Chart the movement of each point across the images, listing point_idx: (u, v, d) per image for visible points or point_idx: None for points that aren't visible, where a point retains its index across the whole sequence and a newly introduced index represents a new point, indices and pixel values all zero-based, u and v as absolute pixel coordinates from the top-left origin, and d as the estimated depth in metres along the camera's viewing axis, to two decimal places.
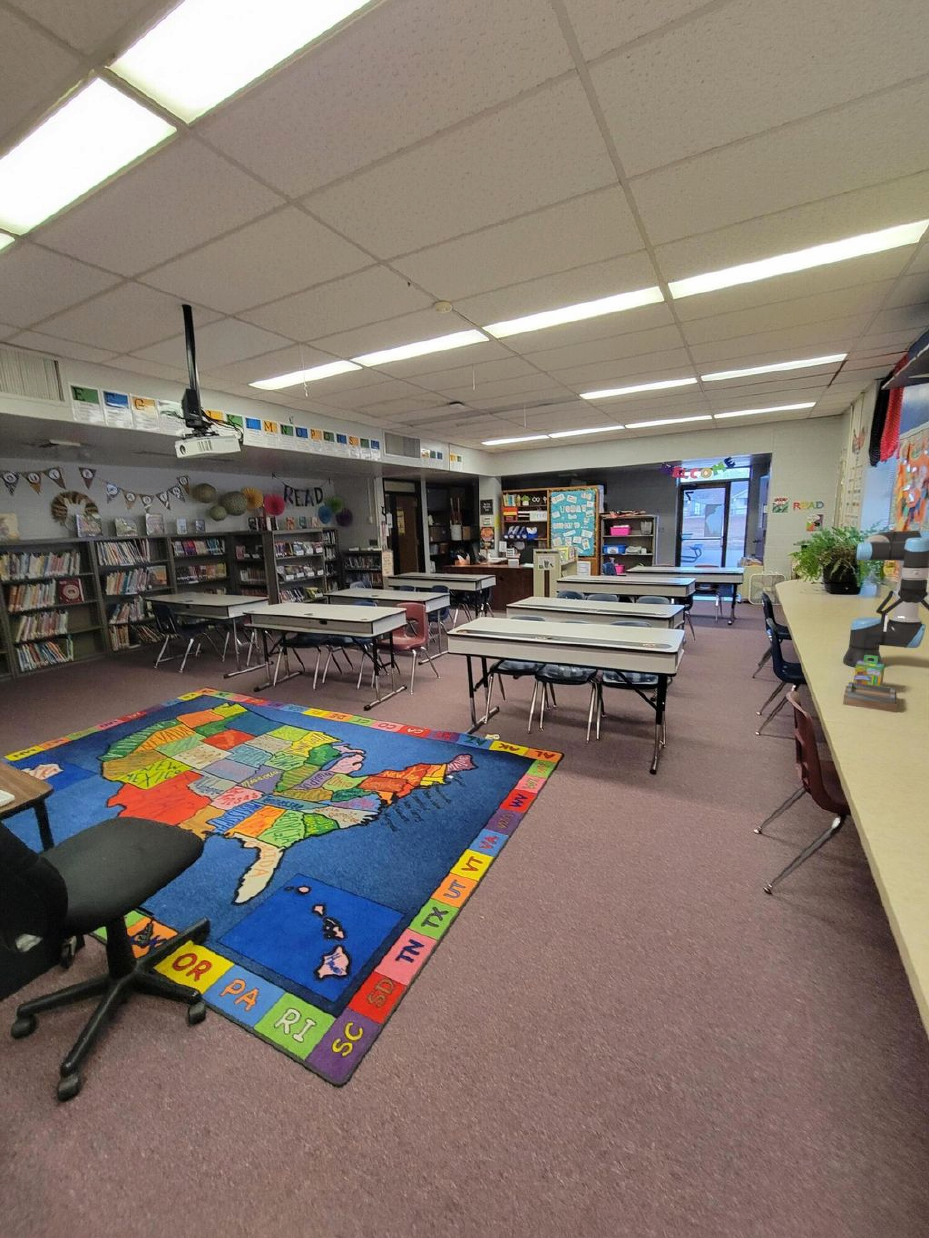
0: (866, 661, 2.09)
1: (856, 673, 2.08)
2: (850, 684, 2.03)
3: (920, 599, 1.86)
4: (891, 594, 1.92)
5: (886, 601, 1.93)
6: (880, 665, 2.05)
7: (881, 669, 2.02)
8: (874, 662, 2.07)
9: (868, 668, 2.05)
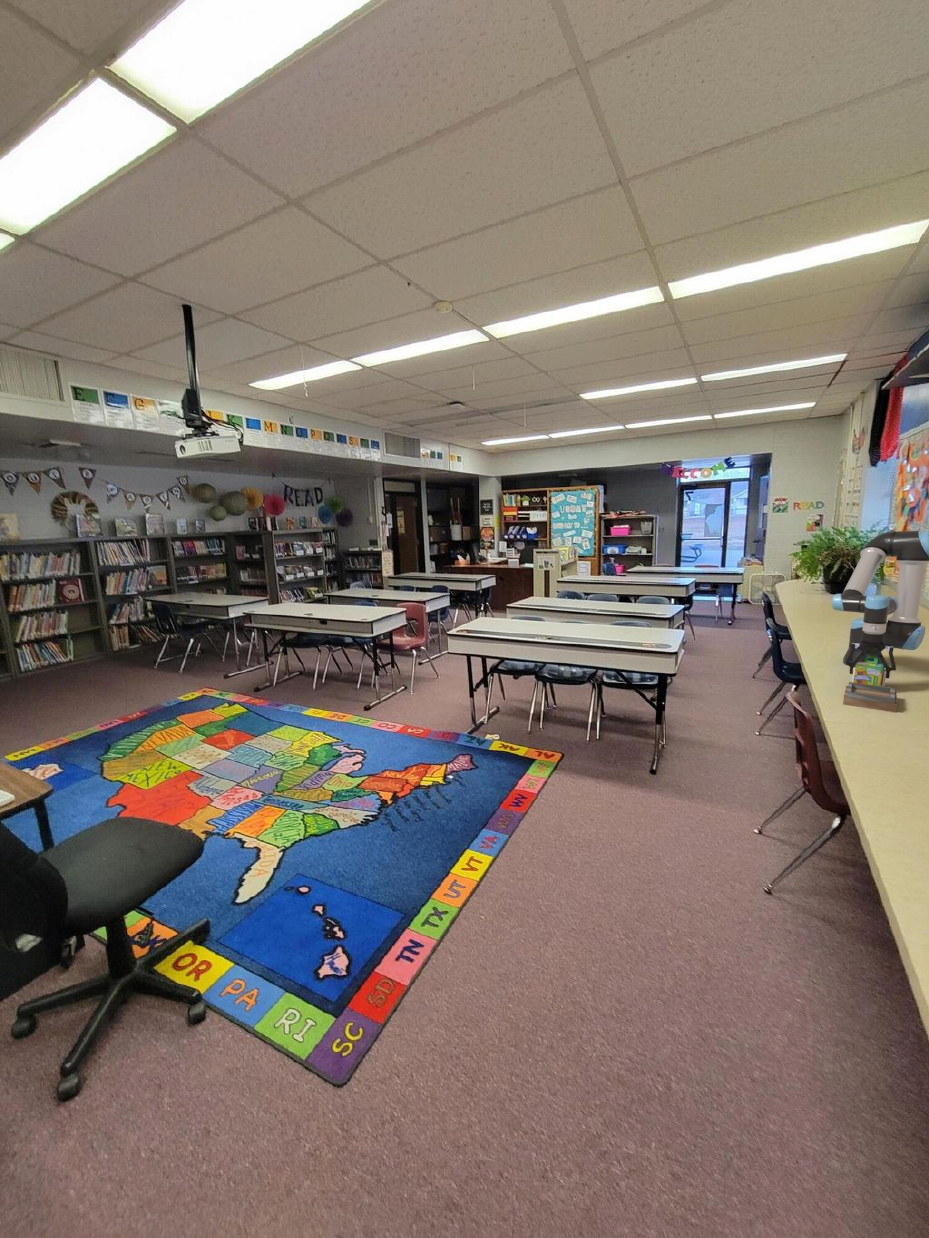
0: (866, 661, 2.09)
1: (856, 673, 2.08)
2: (850, 684, 2.03)
3: (878, 652, 2.04)
4: (853, 647, 2.10)
5: (851, 653, 2.10)
6: (880, 665, 2.05)
7: (881, 669, 2.02)
8: (874, 662, 2.07)
9: (868, 668, 2.05)
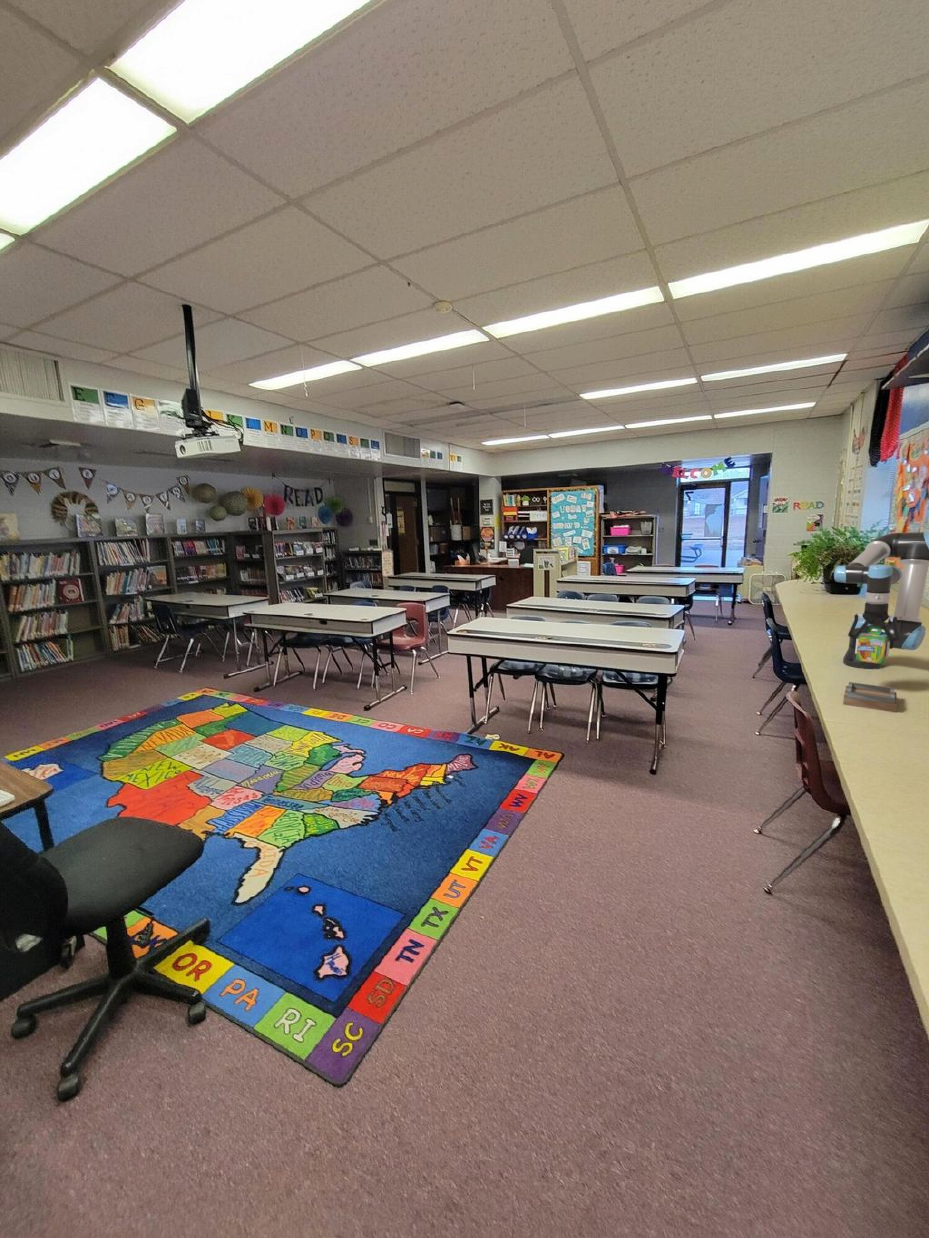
0: (869, 632, 2.06)
1: (859, 644, 2.06)
2: (850, 684, 2.03)
3: (881, 622, 2.02)
4: (856, 618, 2.07)
5: (854, 625, 2.08)
6: (884, 635, 2.02)
7: (885, 639, 2.00)
8: (877, 633, 2.05)
9: (871, 638, 2.03)
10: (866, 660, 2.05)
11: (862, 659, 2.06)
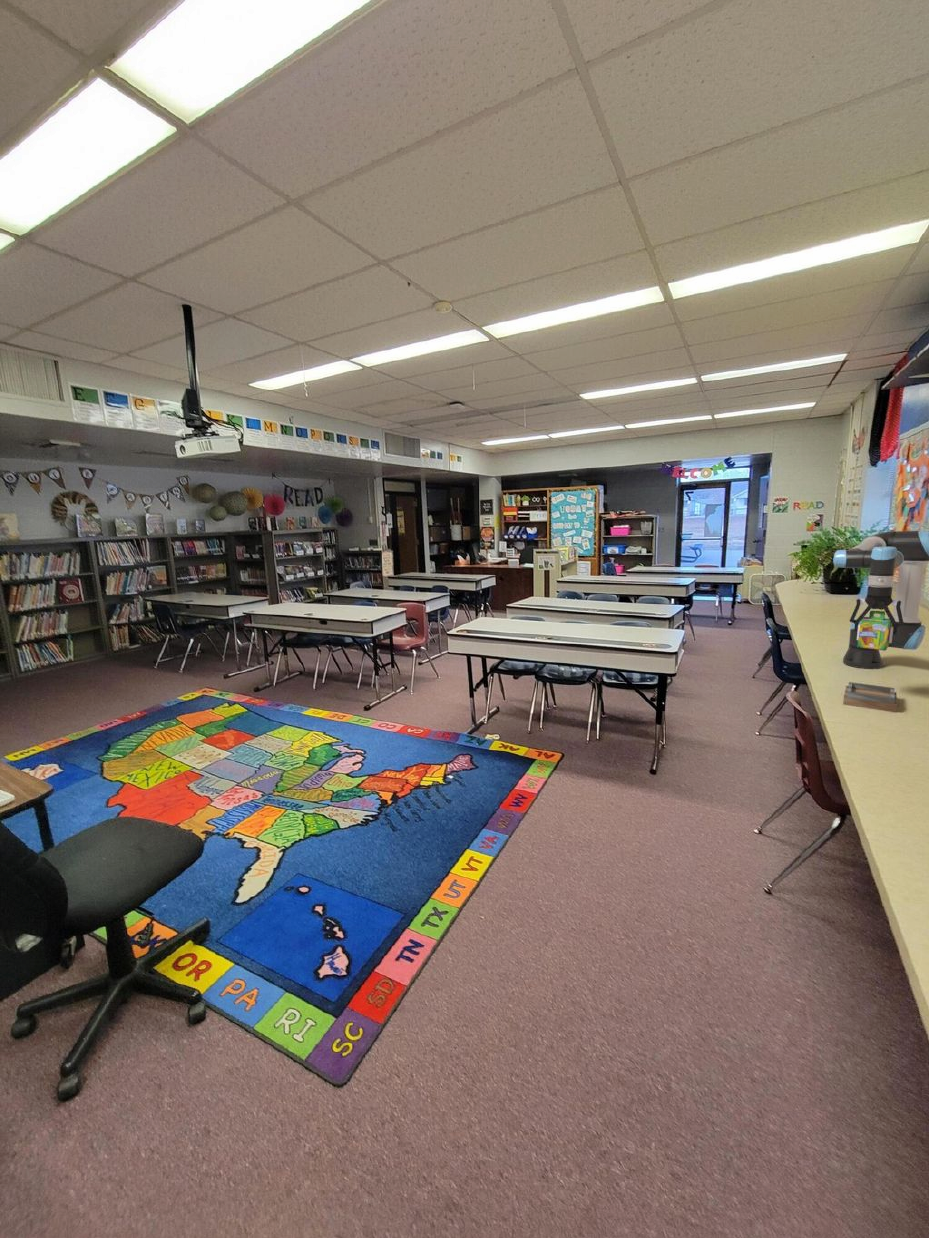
0: (872, 617, 1.98)
1: (861, 629, 1.97)
2: (850, 684, 2.03)
3: (884, 606, 1.93)
4: (859, 602, 1.98)
5: (856, 609, 1.99)
6: (887, 620, 1.94)
7: (888, 624, 1.91)
8: (880, 618, 1.96)
9: (874, 623, 1.94)
10: (868, 646, 1.96)
11: (864, 645, 1.97)
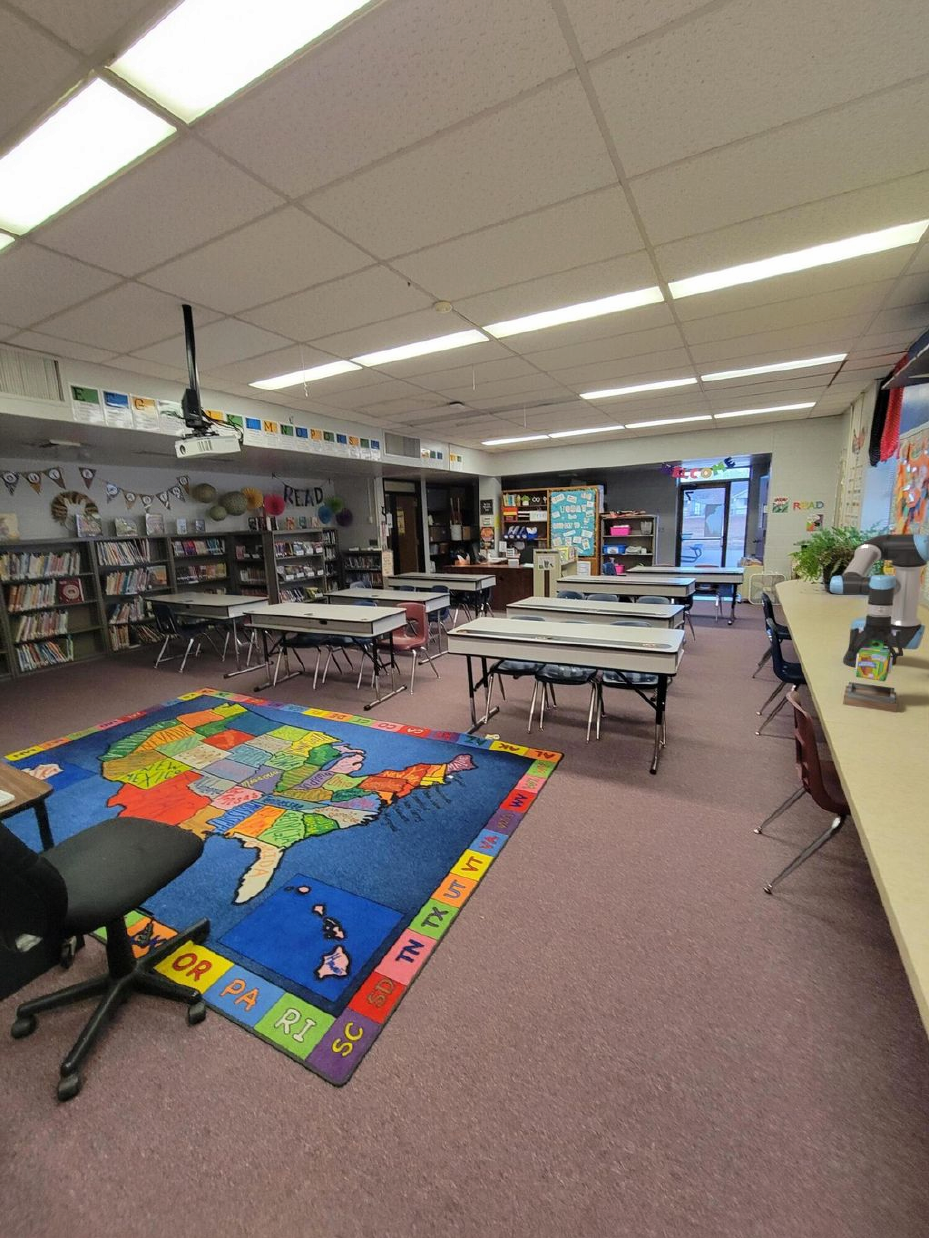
0: (871, 646, 1.93)
1: (860, 659, 1.93)
2: (850, 684, 2.03)
3: (883, 636, 1.89)
4: (857, 631, 1.94)
5: (854, 638, 1.95)
6: (886, 650, 1.89)
7: (887, 654, 1.87)
8: (879, 647, 1.92)
9: (873, 653, 1.90)
10: (867, 676, 1.92)
11: (863, 675, 1.93)
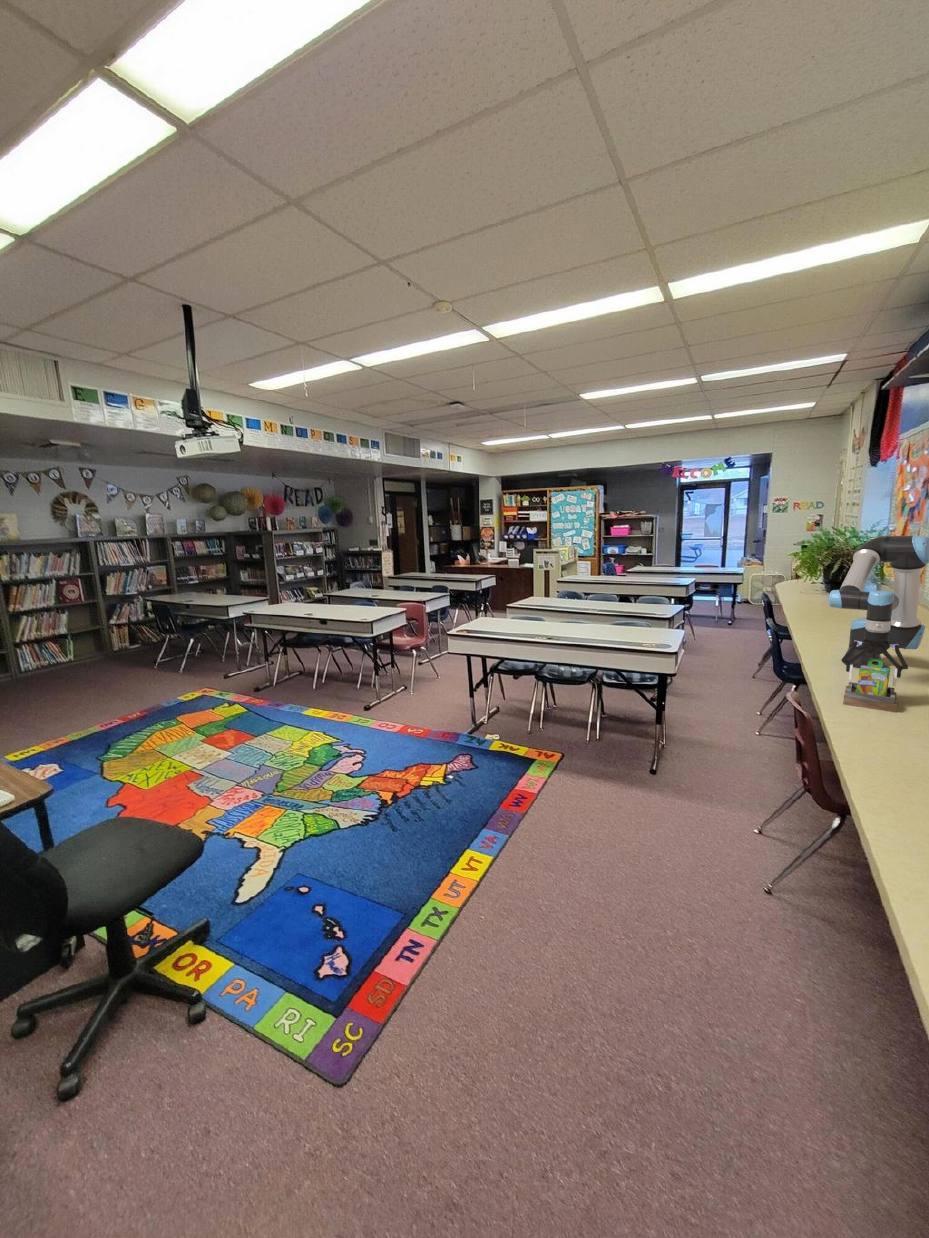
0: (870, 665, 1.95)
1: (860, 678, 1.94)
2: (850, 684, 2.03)
3: (883, 651, 1.90)
4: (855, 644, 1.95)
5: (851, 651, 1.97)
6: (885, 669, 1.91)
7: (887, 673, 1.88)
8: (879, 666, 1.93)
9: (873, 672, 1.91)
10: None
11: None
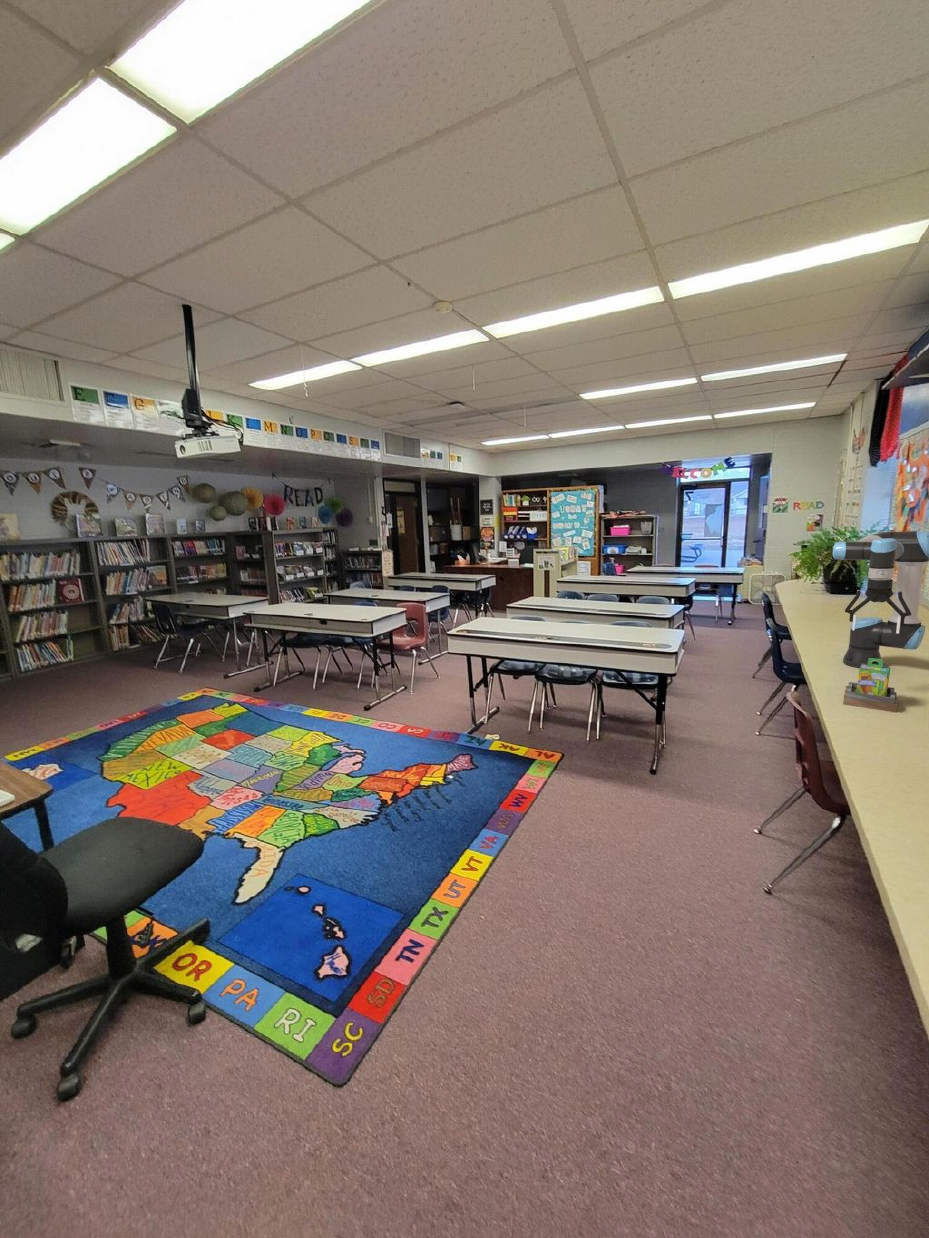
0: (870, 665, 1.95)
1: (860, 678, 1.94)
2: (850, 684, 2.03)
3: (886, 599, 1.91)
4: (858, 594, 1.96)
5: (854, 601, 1.97)
6: (885, 669, 1.91)
7: (887, 673, 1.88)
8: (879, 666, 1.93)
9: (873, 672, 1.91)
10: None
11: None
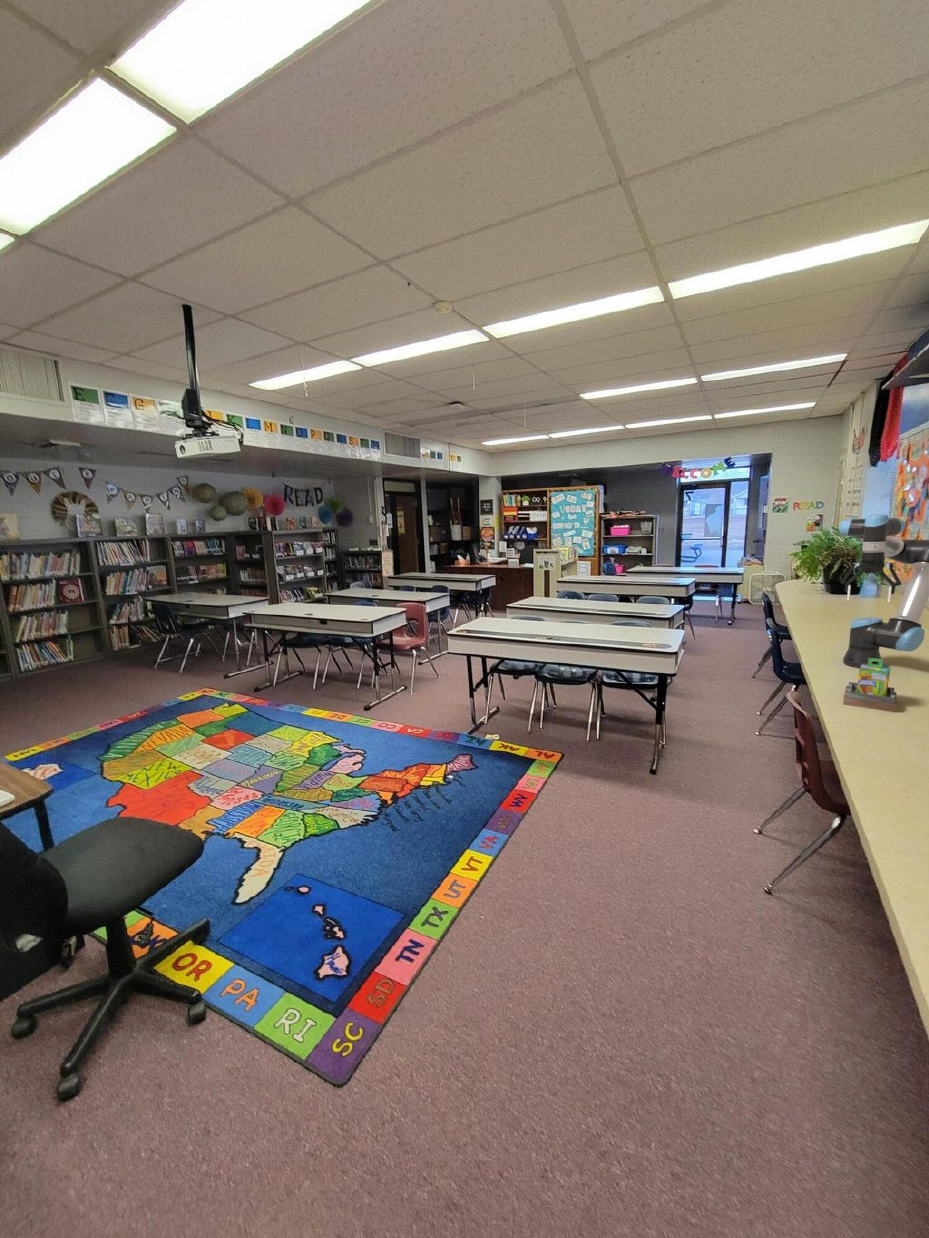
0: (870, 665, 1.95)
1: (860, 678, 1.94)
2: (850, 684, 2.03)
3: (878, 570, 2.07)
4: (853, 566, 2.12)
5: (849, 572, 2.14)
6: (885, 669, 1.91)
7: (887, 673, 1.88)
8: (879, 666, 1.93)
9: (873, 672, 1.91)
10: None
11: None
